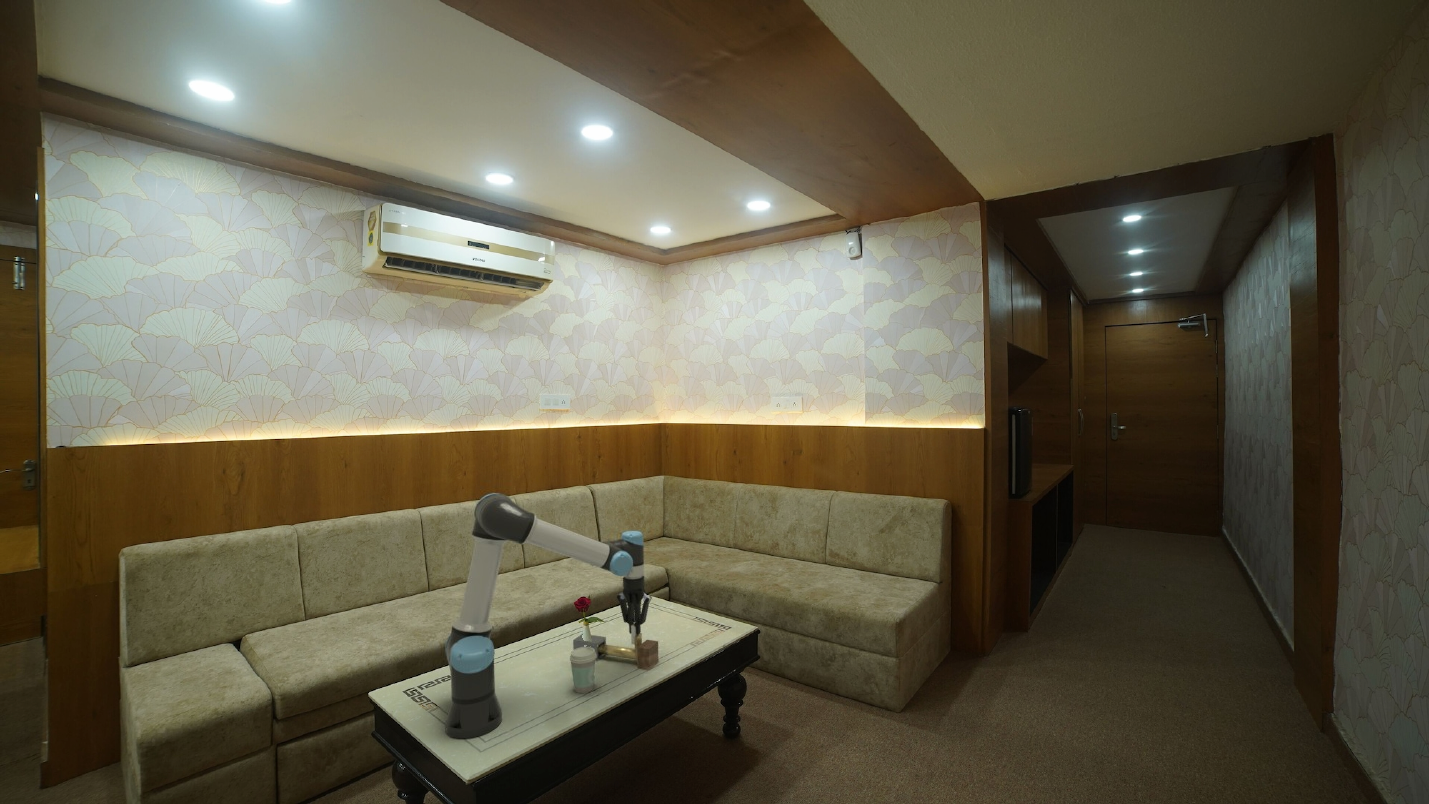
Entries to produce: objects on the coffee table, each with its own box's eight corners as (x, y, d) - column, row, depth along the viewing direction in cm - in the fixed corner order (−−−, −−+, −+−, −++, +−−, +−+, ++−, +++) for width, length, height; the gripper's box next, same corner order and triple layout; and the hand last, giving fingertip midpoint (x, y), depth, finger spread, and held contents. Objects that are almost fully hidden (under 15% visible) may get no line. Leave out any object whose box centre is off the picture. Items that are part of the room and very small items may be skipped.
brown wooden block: (637, 668, 206) (637, 647, 206) (647, 659, 213) (646, 639, 213) (649, 670, 205) (648, 649, 205) (658, 661, 211) (658, 641, 211)
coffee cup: (591, 696, 188) (590, 658, 187) (565, 694, 189) (564, 656, 189) (601, 683, 196) (600, 646, 196) (577, 681, 198) (576, 645, 197)
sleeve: (573, 657, 216) (573, 640, 216) (583, 650, 222) (582, 633, 222) (597, 660, 213) (596, 643, 213) (606, 654, 218) (605, 637, 218)
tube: (588, 654, 216) (587, 630, 215) (593, 650, 219) (593, 626, 219) (645, 663, 207) (644, 638, 207) (649, 658, 210) (649, 634, 210)
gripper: (611, 577, 209) (613, 644, 209) (645, 580, 204) (646, 649, 205) (622, 571, 216) (624, 636, 216) (655, 574, 211) (656, 641, 212)
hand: (635, 642), depth 210 cm, fingers closed
